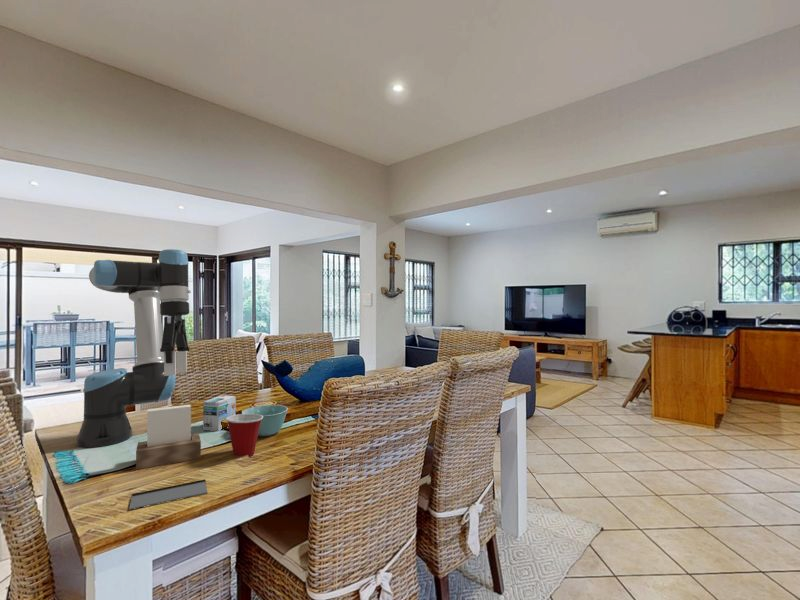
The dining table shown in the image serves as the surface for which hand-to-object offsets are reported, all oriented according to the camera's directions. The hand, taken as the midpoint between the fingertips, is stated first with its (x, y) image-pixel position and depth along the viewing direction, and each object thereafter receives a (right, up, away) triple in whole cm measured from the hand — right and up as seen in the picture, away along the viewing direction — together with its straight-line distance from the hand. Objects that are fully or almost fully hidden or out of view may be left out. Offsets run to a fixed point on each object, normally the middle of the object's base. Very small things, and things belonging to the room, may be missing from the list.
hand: (176, 374), depth 116 cm
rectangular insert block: (-3, -25, +1) cm, 25 cm away
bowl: (+16, -27, +28) cm, 42 cm away
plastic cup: (+17, -27, +7) cm, 32 cm away
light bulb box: (-3, -27, +34) cm, 43 cm away
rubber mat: (+6, -26, -13) cm, 30 cm away
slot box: (-3, -26, +1) cm, 26 cm away
